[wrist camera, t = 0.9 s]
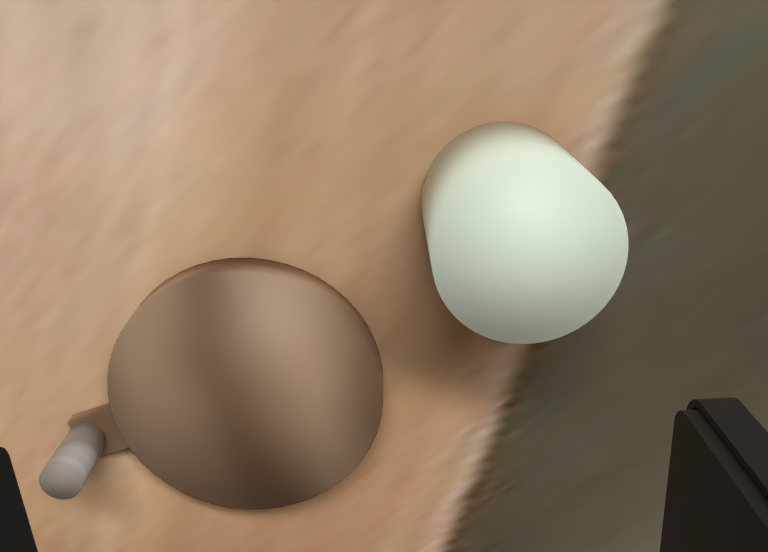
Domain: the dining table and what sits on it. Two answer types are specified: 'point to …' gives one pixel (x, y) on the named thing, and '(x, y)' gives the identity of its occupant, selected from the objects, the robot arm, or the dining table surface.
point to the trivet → (235, 389)
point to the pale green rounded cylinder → (520, 234)
